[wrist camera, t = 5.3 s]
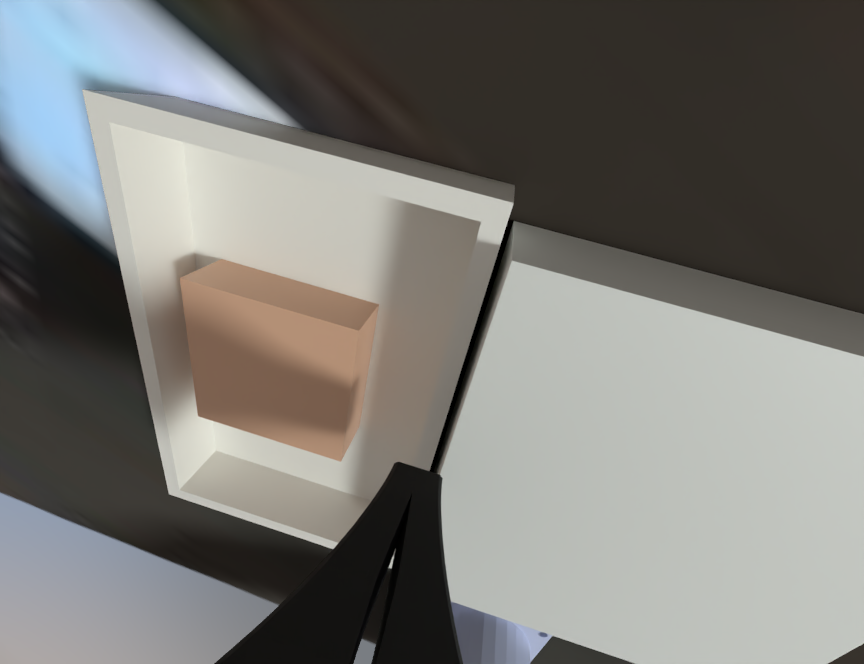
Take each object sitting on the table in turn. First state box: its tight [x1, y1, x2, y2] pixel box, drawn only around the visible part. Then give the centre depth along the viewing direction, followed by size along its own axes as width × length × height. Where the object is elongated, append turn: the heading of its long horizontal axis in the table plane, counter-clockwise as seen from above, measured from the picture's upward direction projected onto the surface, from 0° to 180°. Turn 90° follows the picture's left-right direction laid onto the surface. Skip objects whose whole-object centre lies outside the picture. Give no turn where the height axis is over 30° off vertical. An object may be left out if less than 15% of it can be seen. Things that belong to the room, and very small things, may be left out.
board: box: [433, 221, 864, 664], centre depth 13 cm, size 14×14×4 cm
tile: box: [180, 259, 379, 462], centre depth 14 cm, size 6×6×2 cm
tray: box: [82, 89, 515, 569], centre depth 14 cm, size 16×11×3 cm
